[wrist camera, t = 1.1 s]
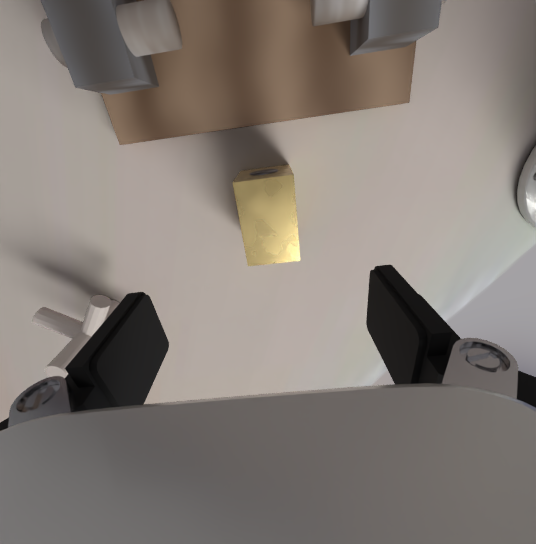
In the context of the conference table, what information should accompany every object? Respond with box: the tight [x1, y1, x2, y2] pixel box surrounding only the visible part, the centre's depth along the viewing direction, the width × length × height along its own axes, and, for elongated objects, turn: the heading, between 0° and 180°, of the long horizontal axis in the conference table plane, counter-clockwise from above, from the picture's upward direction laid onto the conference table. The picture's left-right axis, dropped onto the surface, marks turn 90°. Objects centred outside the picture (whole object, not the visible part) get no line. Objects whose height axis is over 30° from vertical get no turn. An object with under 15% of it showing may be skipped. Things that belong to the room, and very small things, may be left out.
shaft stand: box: [41, 0, 446, 145], centre depth 17 cm, size 24×12×5 cm, turn 97°
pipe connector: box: [32, 295, 120, 378], centre depth 28 cm, size 10×10×10 cm
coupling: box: [233, 164, 300, 266], centre depth 23 cm, size 7×4×6 cm, turn 7°
